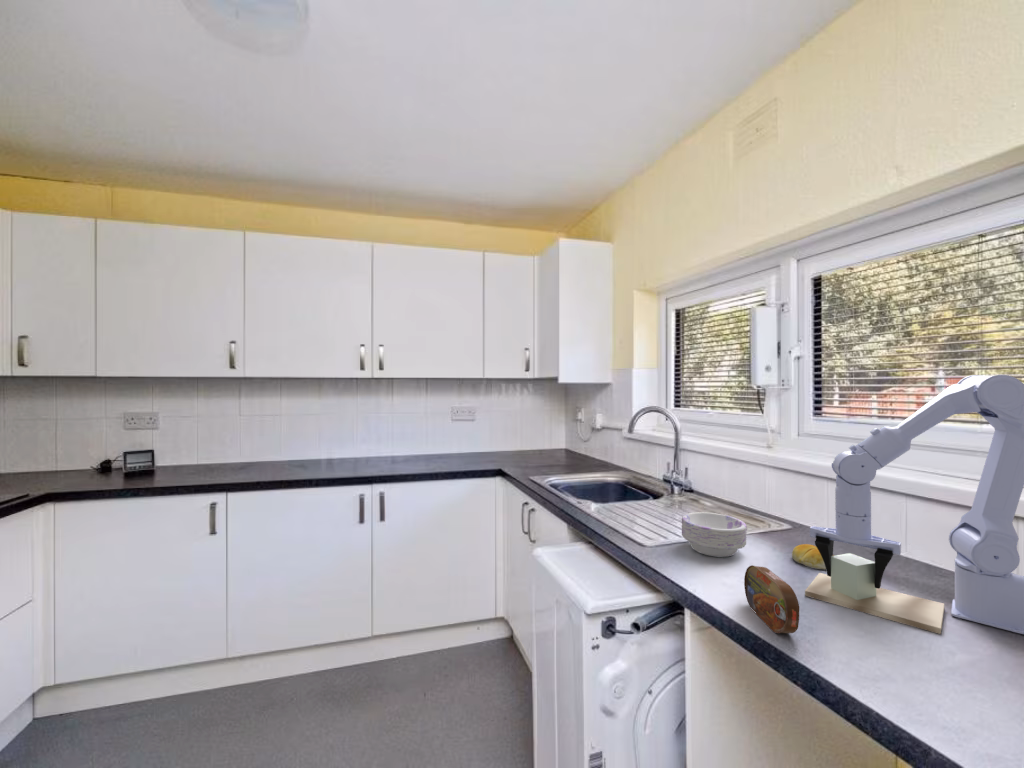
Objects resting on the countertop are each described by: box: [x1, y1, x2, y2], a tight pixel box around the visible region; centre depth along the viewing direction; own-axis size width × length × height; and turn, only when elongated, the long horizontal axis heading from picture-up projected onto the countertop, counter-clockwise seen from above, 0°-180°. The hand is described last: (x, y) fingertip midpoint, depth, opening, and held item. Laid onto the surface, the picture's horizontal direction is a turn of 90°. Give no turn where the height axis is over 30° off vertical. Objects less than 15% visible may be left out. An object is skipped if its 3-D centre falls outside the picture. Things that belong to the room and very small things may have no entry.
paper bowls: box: [681, 511, 748, 558], centre depth 117 cm, size 15×15×8 cm
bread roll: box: [791, 543, 835, 570], centre depth 109 cm, size 8×9×4 cm
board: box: [804, 572, 945, 635], centre depth 89 cm, size 20×12×1 cm, turn 44°
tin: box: [743, 565, 800, 634], centre depth 83 cm, size 15×3×8 cm, turn 177°
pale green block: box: [831, 552, 876, 600], centre depth 91 cm, size 5×5×7 cm
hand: (853, 580), depth 91 cm, fingers closed on pale green block, 7 cm apart
